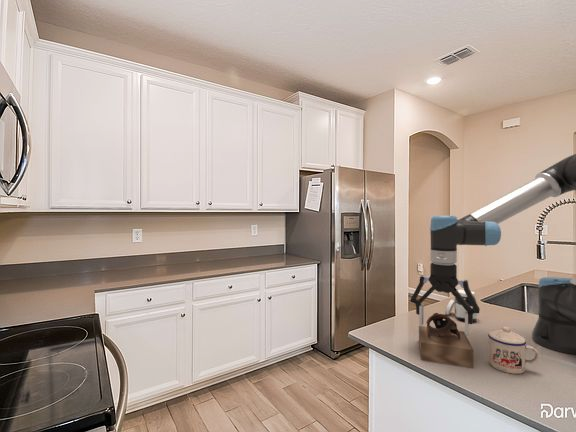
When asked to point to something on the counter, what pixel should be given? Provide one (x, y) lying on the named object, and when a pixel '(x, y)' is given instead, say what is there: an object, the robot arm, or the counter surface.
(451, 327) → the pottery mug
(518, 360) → the teacup with lid
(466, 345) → the walnut block
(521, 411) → the counter surface
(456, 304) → the spread jar
